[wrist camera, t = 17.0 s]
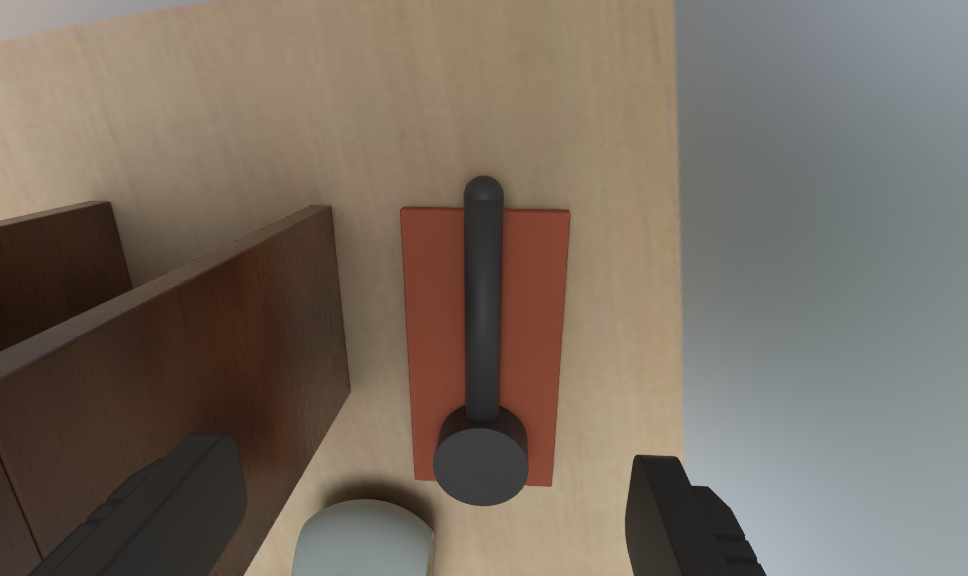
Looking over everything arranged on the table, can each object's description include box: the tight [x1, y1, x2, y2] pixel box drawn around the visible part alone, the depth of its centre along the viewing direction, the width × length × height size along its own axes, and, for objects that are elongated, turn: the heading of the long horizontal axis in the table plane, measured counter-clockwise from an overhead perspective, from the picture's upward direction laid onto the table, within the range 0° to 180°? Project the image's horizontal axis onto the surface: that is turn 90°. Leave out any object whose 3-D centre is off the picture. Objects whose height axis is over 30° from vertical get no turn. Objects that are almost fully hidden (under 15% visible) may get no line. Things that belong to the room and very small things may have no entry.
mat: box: [400, 207, 570, 487], centre depth 29 cm, size 18×9×1 cm, turn 0°
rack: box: [0, 201, 350, 576], centre depth 19 cm, size 12×14×22 cm
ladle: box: [433, 176, 529, 506], centre depth 27 cm, size 19×6×3 cm, turn 0°
